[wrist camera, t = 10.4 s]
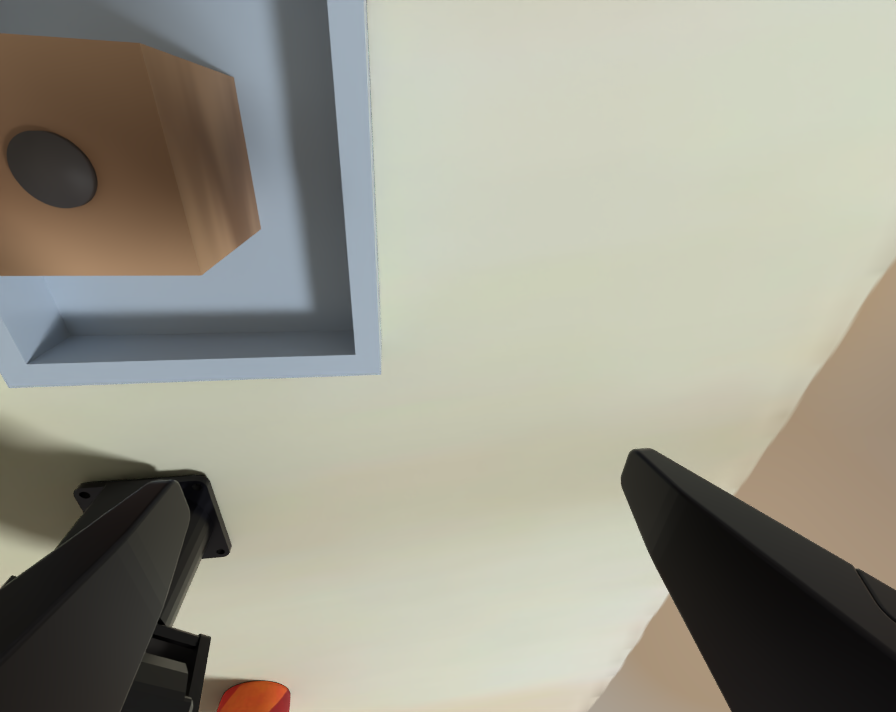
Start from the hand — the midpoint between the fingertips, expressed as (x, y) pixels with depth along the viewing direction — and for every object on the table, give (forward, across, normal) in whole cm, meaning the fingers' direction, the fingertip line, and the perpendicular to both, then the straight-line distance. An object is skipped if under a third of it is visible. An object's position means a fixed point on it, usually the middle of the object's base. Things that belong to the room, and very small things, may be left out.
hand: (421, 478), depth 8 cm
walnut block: (+11, +8, -5) cm, 15 cm away
